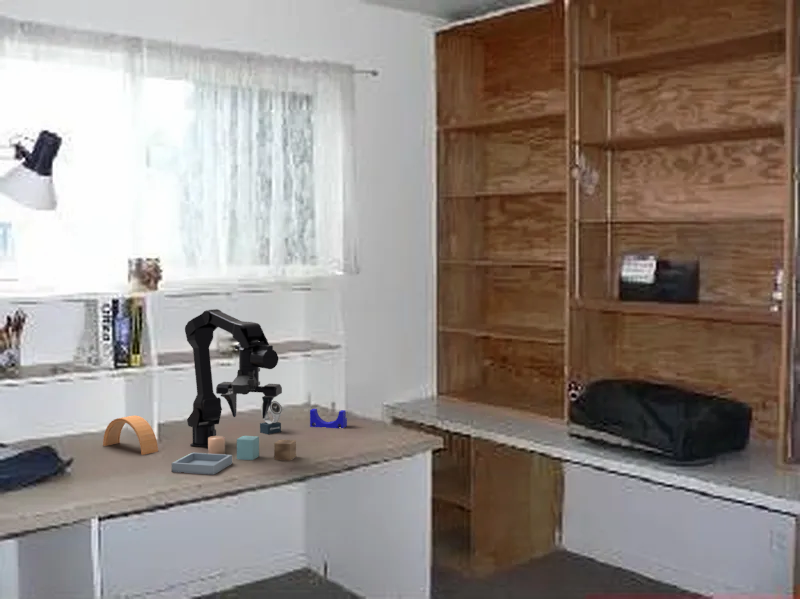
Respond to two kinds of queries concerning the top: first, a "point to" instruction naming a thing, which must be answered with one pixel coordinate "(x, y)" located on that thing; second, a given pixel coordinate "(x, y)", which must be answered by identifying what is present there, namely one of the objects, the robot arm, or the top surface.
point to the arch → (141, 430)
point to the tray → (202, 463)
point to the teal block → (248, 447)
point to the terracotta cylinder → (216, 445)
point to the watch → (274, 425)
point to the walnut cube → (285, 450)
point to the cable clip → (339, 422)
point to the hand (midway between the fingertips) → (249, 417)
